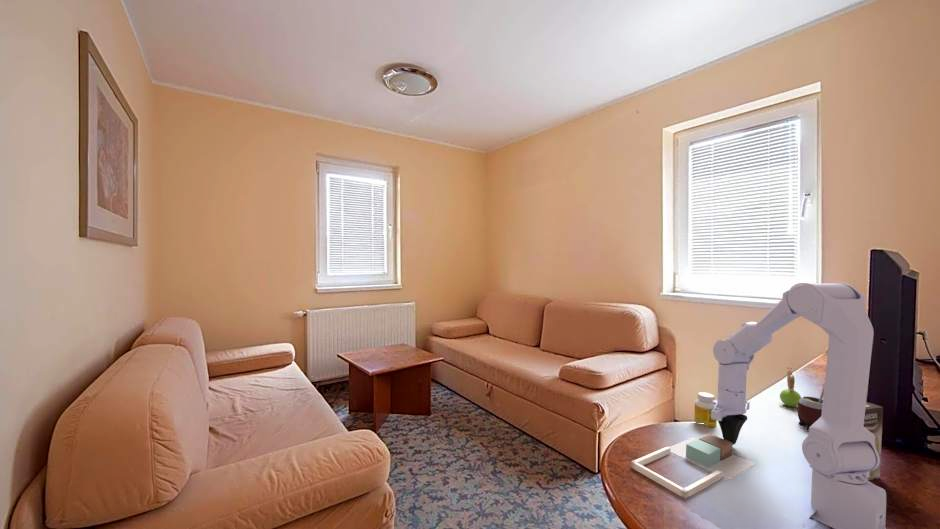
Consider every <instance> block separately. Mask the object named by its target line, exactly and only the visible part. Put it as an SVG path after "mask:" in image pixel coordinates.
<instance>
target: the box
mask: <svg viewBox="0 0 940 529" xmlns="http://www.w3.org/2000/svg"><path fill="white" fill-rule="evenodd" d="M670 447H671V446H665V447H663V448H660V449H658V450H655V451H654V452H653V451H652V452H651V453H648V454H646V455H644V456H641V457H638V458H637V459H633V460H631V462H630V467H631V469H633V470H634V471H635V472H639V473H640V474H641V475H643V476H645V477H647V478H648V479H650V480H651V481H654V482H655V483H657V484H659V485H660V486H663V487H664V488H666V489H667V490H669V491H671V492H672V493H674V494H675V495H678V496H680V497H681V498H684V499H685V500H686V499H688V498H690V497H691V496H693V495H694V494H696V493H698V492H700V491H702V490H704V489H705V488H707V487H709V486H711V485H712V484H714V483H716V482H719V480H721V479H722V478H723V477H722V472H720V471H718V470H717V471H715V472H711V473H710V474H708V475H706V476H705V477H702V478H700V479H699V480H697V481H695V482H693V483H691V484H689V485H687V486H685V487H682V486H680V485H679V484H676V483H675V482H673V481H672V480H669V479H668V478H665V477H664V476H662V475H661V474H659V473H657V472H654V471H653V470H651V469H650V468H648V467H646V466H645V465H648V464H650V463H652V462H654V461H657V460H659V459H661V458H663V457H667V455H670V454H671V452H670Z"/></svg>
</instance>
